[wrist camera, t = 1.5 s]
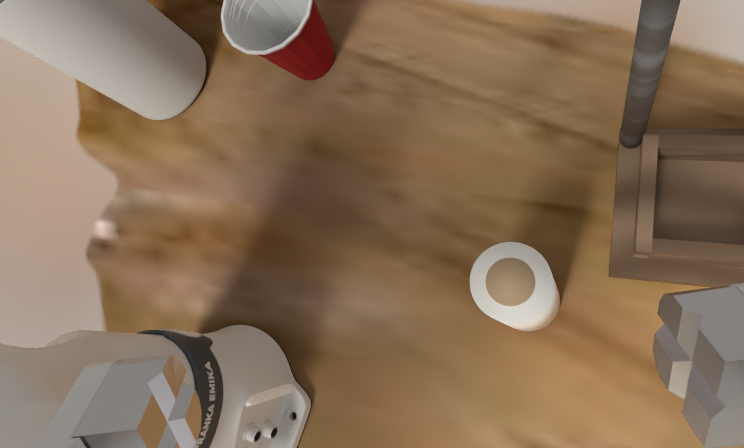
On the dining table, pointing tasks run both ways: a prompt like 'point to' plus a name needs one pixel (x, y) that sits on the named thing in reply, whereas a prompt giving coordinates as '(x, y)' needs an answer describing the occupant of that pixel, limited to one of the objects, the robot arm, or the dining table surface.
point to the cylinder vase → (112, 49)
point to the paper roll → (515, 286)
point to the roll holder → (674, 182)
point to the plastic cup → (280, 34)
